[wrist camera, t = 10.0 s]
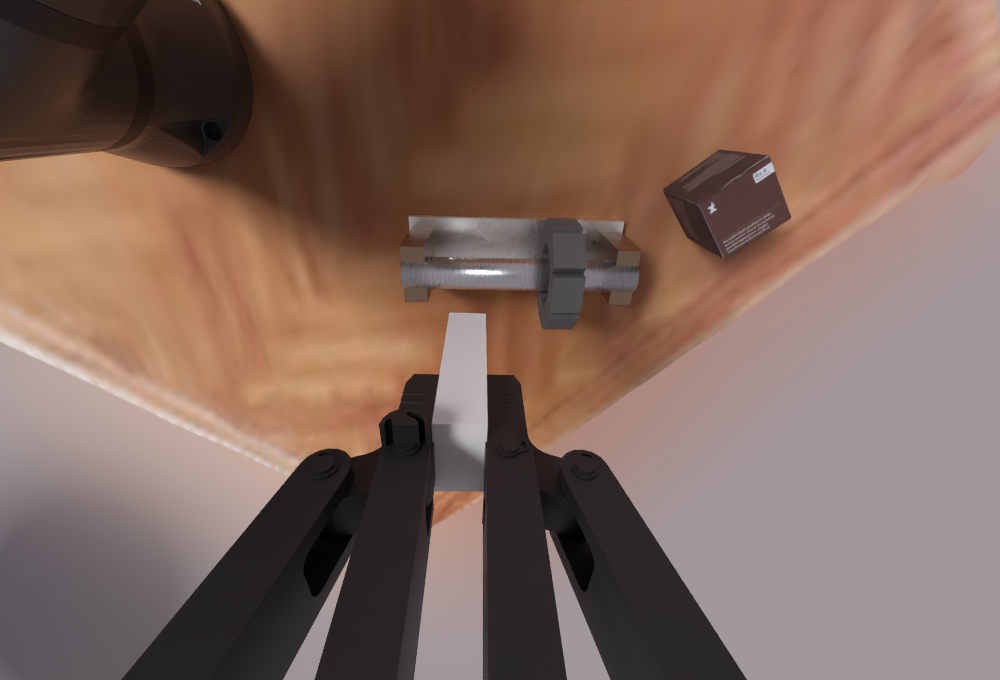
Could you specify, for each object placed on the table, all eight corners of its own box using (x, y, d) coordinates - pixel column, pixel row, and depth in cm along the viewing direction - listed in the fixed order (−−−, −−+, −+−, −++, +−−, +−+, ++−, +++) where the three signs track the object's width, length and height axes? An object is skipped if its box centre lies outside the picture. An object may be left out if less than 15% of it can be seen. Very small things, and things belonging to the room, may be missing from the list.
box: (685, 238, 40) (722, 261, 34) (660, 188, 38) (696, 204, 31) (743, 201, 38) (793, 218, 32) (721, 146, 36) (771, 154, 29)
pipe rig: (415, 282, 41) (401, 315, 35) (409, 214, 38) (392, 237, 31) (609, 285, 42) (634, 318, 35) (622, 219, 39) (651, 242, 32)
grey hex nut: (535, 300, 41) (546, 345, 33) (542, 210, 36) (558, 237, 28) (558, 301, 41) (576, 346, 33) (569, 211, 36) (592, 238, 28)
